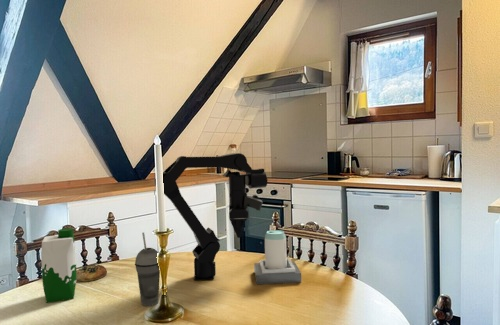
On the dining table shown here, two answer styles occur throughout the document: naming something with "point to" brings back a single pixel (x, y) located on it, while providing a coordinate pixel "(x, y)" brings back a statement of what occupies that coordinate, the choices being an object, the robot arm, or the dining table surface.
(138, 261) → the beverage cup
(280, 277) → the grey rectangular tray
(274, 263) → the can
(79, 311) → the dining table surface
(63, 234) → the milk carton
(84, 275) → the bread roll
